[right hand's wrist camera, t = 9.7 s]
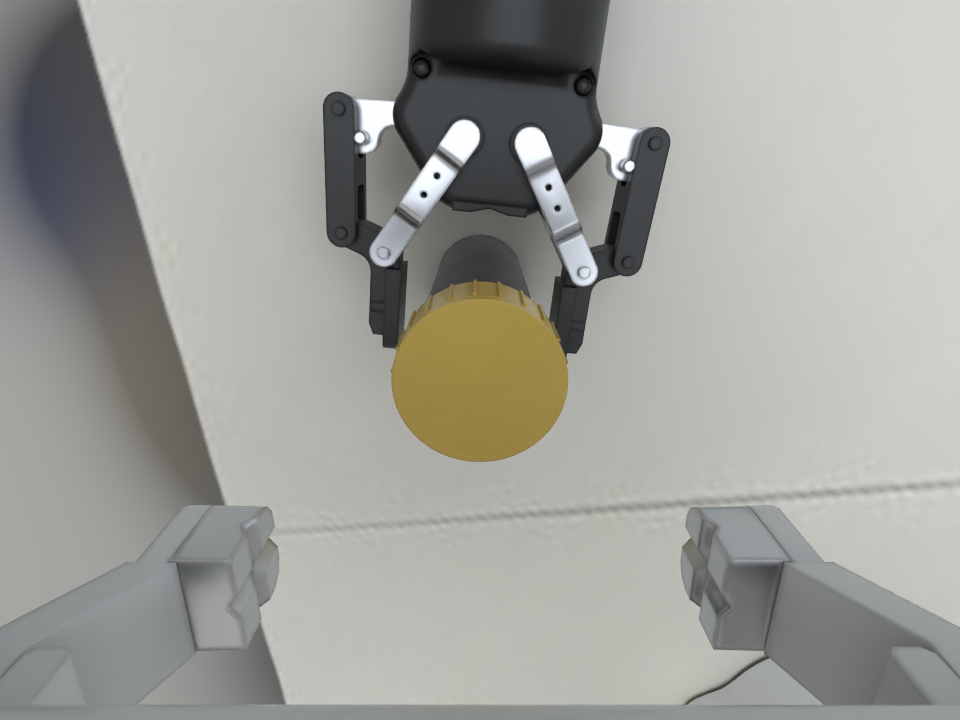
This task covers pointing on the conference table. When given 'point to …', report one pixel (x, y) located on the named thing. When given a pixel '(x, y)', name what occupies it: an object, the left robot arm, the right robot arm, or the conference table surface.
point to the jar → (479, 264)
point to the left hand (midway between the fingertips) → (474, 350)
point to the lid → (479, 372)
